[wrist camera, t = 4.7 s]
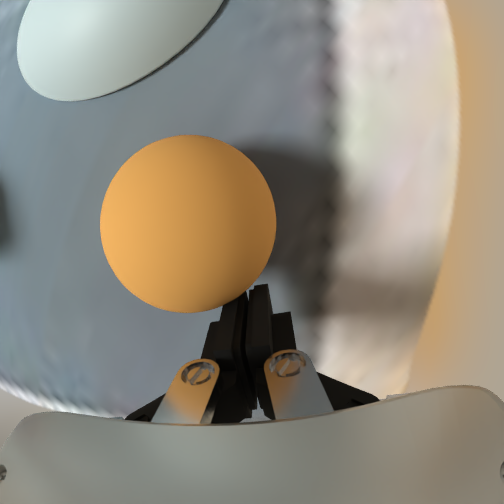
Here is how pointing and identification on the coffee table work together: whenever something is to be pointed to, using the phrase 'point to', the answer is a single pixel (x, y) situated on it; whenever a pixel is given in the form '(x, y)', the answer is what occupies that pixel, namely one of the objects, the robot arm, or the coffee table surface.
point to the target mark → (103, 42)
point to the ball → (188, 223)
